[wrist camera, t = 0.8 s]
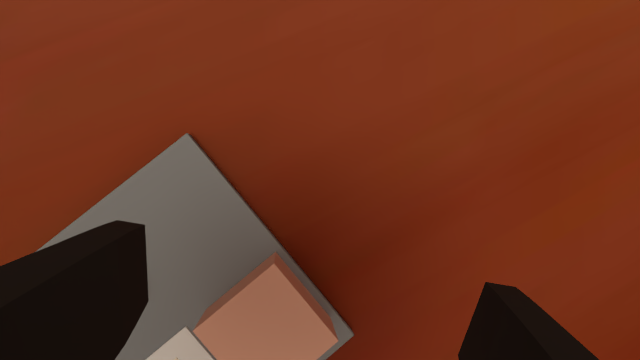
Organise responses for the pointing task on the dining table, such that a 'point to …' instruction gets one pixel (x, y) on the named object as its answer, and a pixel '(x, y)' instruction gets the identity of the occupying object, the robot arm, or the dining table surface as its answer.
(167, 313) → the build board
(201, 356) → the card
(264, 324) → the terracotta block
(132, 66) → the dining table surface
